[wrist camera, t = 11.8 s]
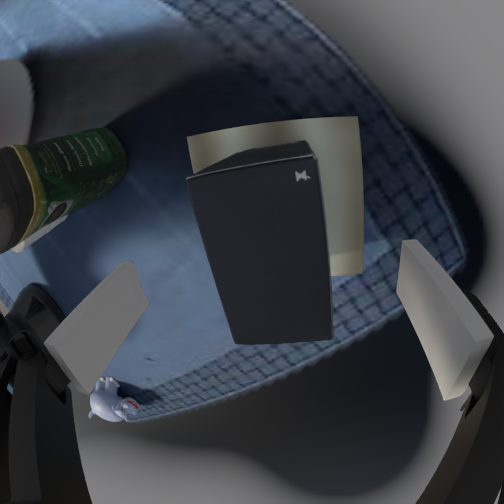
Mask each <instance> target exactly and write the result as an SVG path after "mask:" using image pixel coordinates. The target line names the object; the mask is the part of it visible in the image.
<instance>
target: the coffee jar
mask: <svg viewBox="0 0 504 504" xmlns="http://www.w3.org/2000/svg"><path fill="white" fill-rule="evenodd" d="M126 169H127V156H126V153H125V150H124V148H123V146H122V144H121V142H120V141H119V139H118V138H117V136H116V135H115V134H114V133H113V132H112V131H111V130H109V129H107V128H96V129H90V130H85V131H81V132H77V133H73V134H69V135H65V136H61V137H56V138H52V139H49V140H45V141H41V142H37V143H33V144H28V145H8V146H6V147H3V148H1V149H0V254H1V253H4V252H6V251H8V250H9V249H11V248H13V247H15V246H16V245H18V244H20V243H21V242H22V241H24V240H25V239H26V238H28V237H29V236H31V235H32V234H34V233H35V232H37V231H38V230H40V229H41V228H43V227H45V226H47V225H48V224H50V223H52V222H54V221H56V220H58V219H60V218H62V217H63V216H65V215H67V214H69V213H71V212H73V211H75V210H78V209H80V208H82V207H84V206H86V205H88V204H90V203H93V202H95V201H97V200H99V199H100V198H102V197H103V196H104V195H106V194H107V193H108V192H109V191H110V190H111V189H112V188H113V187H114V186H115V185H116V184H117V183H118V182H119V181H120V179H121V178H122V177H123V175H124V174H125V172H126Z"/></svg>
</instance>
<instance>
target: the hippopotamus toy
mask: <svg viewBox="0 0 504 504" xmlns="http://www.w3.org/2000/svg"><path fill="white" fill-rule="evenodd" d="M118 387H120V385H119V384H118V382H117V381H115V380H114V378H112V377H106V380H105V379H104V378H102V377H100V378H99V380H98V381H97V383H96V391H95V392H93V394H92V395H91V398H90V404H91V408H92V410H91V411H90V413H89V418H90V417H91V416H92V415H94V414H97V415H98V416H100V417H101V418H103V419H105V420H108V421H113V422H117V421H121V420H123V419H124V418H125V420H126V421H127V422H129V421H130V419H129V418H128V419H127V417H129V415H130V414H137V412H138V409H139V404H138V403H137V402H136V400H134V399H133V398H131V397H126V398H124V399H123V398H122V397H119V396H117V388H118ZM90 419H91V418H90Z"/></svg>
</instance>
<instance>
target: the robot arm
mask: <svg viewBox="0 0 504 504" xmlns="http://www.w3.org/2000/svg"><path fill="white" fill-rule="evenodd" d="M396 292H397V294H398V296H399V298H400V300H401V302H402V304H403V306H404V308H405V310H406V312H407V314H408V316H409V318H410V320H411V322H412V324H413V326H414V328H415V331H416V333H417V335H418V337H419V339H420V342H421V344H422V346H423V348H424V351H425V353H426V355H427V358H428V360H429V362H430V365H431V367H432V370H433V372H434V375H435V377H436V380H437V383H438V385H439V388H440V391H441V393H442V396H443V399H444V401H445V400H449V399H452V398H455V397H458V396H461V395H462V394H463V392H464V391H465V389H466V388H467V386H468V384H469V386H470V388H471V391H472V393H471V394H470V396H469V397H468V399H467V400H466V402H465V403H464V404H463V406H462V407H461V409H460V410H461V411H462V410H463V409H464V408H465V409H464V412H463V414H462V417H461V419H460V422H459V424H458V427H457V429H456V431H455V434H454V436H453V438H452V440H451V442H450V445H449V447H448V449H447V451H446V453H445V455H444V457H443V459H442V461H441V462H440V464H439V466H438V468H437V470H436V472H435V473H434V475H433V477H432V478H431V480H430V482H429V484H428V485H427V487H426V488H425V490H424V492H423V493H422V495H421V496H420V498H419V499H418V501H417V502H416V504H494V502H495V500H496V498H497V496H498V493H499V491H500V488H501V486H502V488H501V492H500V496H499V500H498V504H504V333H503V332H502V330H501V329H500V327H499V326H498V325H497V323H496V322H495V320H494V319H493V318H492V316H491V315H490V314H489V313H488V311H487V310H486V308H485V307H484V306H483V304H482V303H481V302H480V300H479V299H478V298H477V297H476V296H475V295H474V294H472V293H471V292H469V291H468V290H460V288H459V287H458V286H457V285H456V284H455V282H454V281H453V280H452V279H451V277H450V276H449V275H448V274H447V273H446V272H445V270H444V269H443V268H442V267H441V266H440V265H439V263H438V262H437V261H436V260H435V259H434V258H433V257H432V256H431V254H430V253H429V252H428V251H427V250H426V249H425V248H424V247H423V246H422V245H421V244H420V243H419V241H418V240H417V239H413V240H402V247H401V258H400V267H399V275H398V283H397V290H396ZM148 305H149V304H148V301H147V299H146V296H145V294H144V291H143V288H142V286H141V283H140V280H139V278H138V275H137V272H136V269H135V266H134V263H133V261H131V262H121V263H120V264H119V265H118V266H117V267H116V268H115V269H114V270H113V271H112V272H111V273H110V274H109V275H108V276H107V277H106V278H105V279H104V280H103V281H102V282H100V283H99V284H98V285H97V286H96V287H95V288H94V289H93V290H92V291H91V292H90V293H89V294H88V295H87V296H86V297H85V298H84V299H83V301H82V302H81V303H80V304H79V305H78V306H77V307H76V308H75V309H74V310H73V311H72V312H71V313H70V314H69V315H68V316H67V317H66V318H65V316H64V315H63V313H62V311H61V310H60V308H59V307H58V305H57V304H56V303H55V302H54V300H53V299H52V298H51V297H50V296H49V295H48V294H47V293H46V292H45V291H44V290H43V289H41V288H40V287H38V286H36V285H33V284H29V285H27V286H26V287H25V288H24V289H23V290H22V291H21V292H20V294H19V295H18V297H17V299H16V301H15V303H14V305H13V307H12V309H11V311H10V312H9V313H8V314H7V315H6V316H5V317H4V316H3V315H2V313H1V311H0V504H92V502H91V498H90V495H89V492H88V488H87V484H86V481H85V476H84V473H83V468H82V464H81V459H80V455H79V449H78V443H77V437H76V431H75V424H74V417H73V407H72V396H71V390H70V389H69V387H68V386H67V385H68V384H69V383H70V382H71V383H72V384H73V385H74V387H75V388H76V389H77V390H78V391H80V392H83V393H86V394H90V392H91V391H92V389H93V388H94V386H95V384H96V383H97V381H98V380H99V378H100V376H101V375H102V373H103V372H104V370H105V369H106V367H107V366H108V364H109V363H110V361H111V359H112V358H113V356H114V355H115V353H116V352H117V350H118V349H119V347H120V346H121V344H122V343H123V341H124V340H125V339H126V337H127V336H128V334H129V333H130V331H131V330H132V328H133V327H134V325H135V324H136V323H137V321H138V320H139V318H140V317H141V315H142V314H143V313H144V311H145V310H146V308H147V307H148Z"/></svg>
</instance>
